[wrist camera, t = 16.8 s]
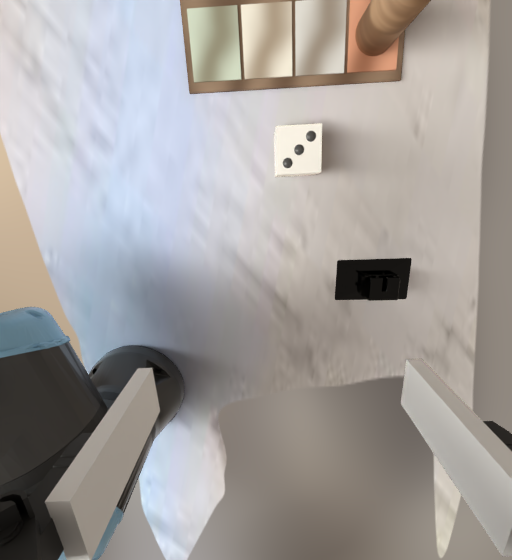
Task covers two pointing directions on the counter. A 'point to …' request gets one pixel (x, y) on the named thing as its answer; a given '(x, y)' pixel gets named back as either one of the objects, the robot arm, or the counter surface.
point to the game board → (280, 45)
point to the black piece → (372, 279)
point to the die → (298, 150)
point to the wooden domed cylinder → (385, 23)
